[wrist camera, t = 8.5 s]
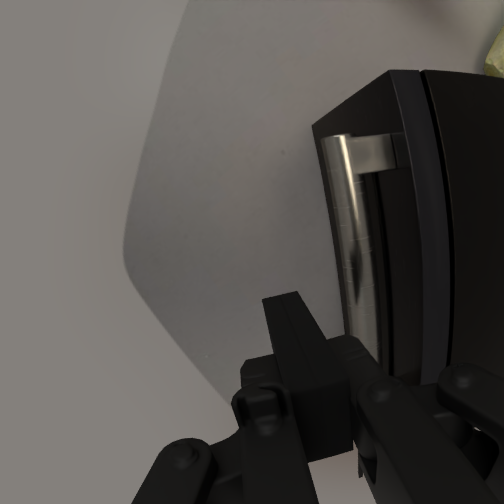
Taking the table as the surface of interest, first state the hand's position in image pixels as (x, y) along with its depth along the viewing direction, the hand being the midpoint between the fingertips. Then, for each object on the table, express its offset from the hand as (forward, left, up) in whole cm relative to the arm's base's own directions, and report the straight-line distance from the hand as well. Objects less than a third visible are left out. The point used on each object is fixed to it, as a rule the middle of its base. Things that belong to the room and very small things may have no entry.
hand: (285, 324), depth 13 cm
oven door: (0, +5, -13) cm, 14 cm away
